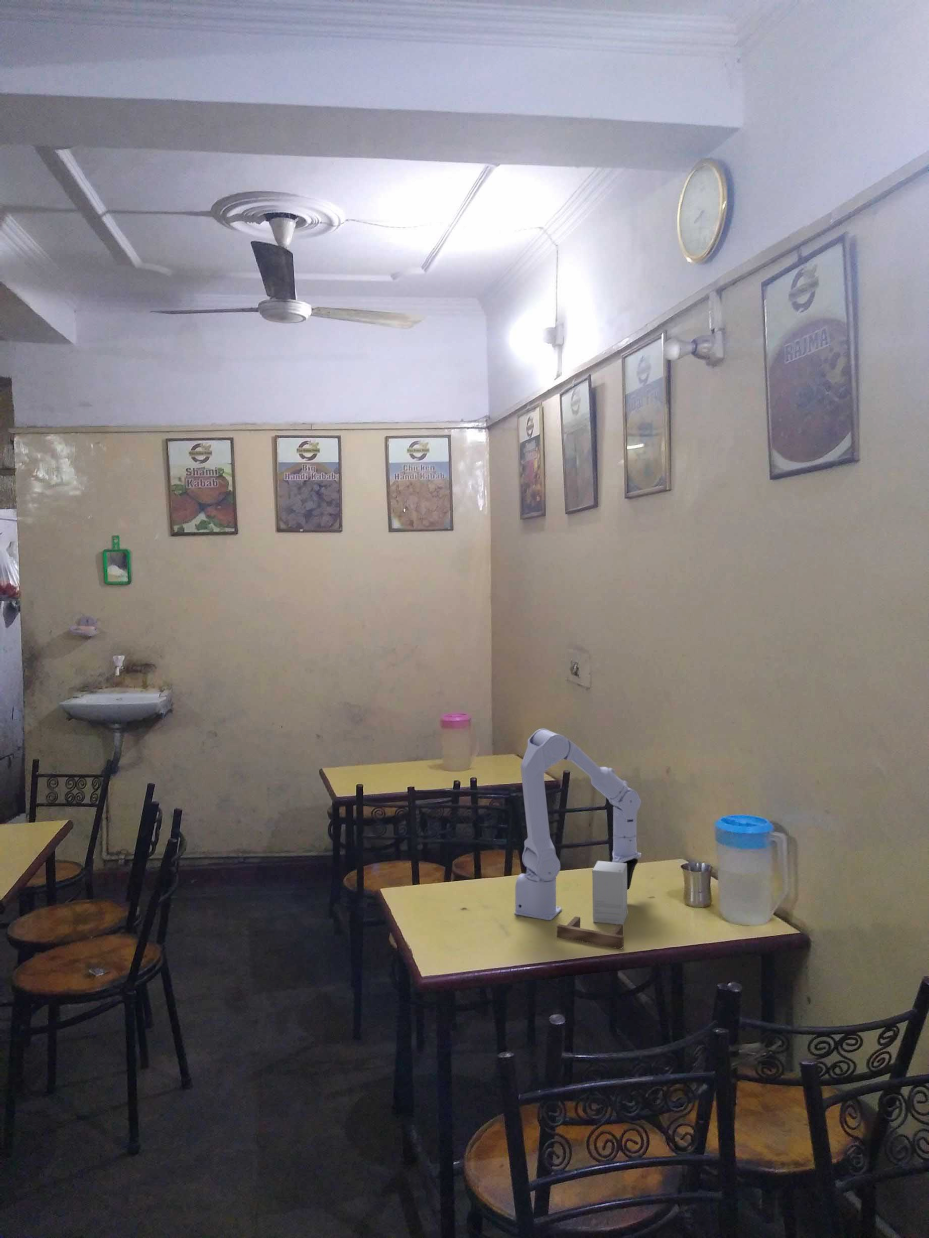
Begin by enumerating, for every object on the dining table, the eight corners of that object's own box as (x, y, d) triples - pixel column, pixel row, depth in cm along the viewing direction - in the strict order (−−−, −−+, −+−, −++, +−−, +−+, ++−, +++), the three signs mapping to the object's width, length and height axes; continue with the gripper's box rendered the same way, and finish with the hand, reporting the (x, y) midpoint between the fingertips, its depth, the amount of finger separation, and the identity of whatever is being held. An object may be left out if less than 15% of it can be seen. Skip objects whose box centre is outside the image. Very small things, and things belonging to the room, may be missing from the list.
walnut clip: (557, 936, 202) (557, 925, 202) (567, 925, 208) (567, 914, 208) (621, 948, 195) (621, 937, 195) (631, 936, 202) (631, 925, 201)
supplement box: (628, 914, 215) (628, 862, 214) (623, 926, 208) (623, 872, 207) (597, 910, 217) (597, 859, 217) (591, 922, 210) (591, 869, 210)
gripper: (632, 844, 214) (632, 900, 215) (648, 828, 227) (648, 881, 228) (604, 841, 217) (604, 895, 218) (621, 825, 230) (621, 877, 231)
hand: (624, 888), depth 223 cm, fingers closed
